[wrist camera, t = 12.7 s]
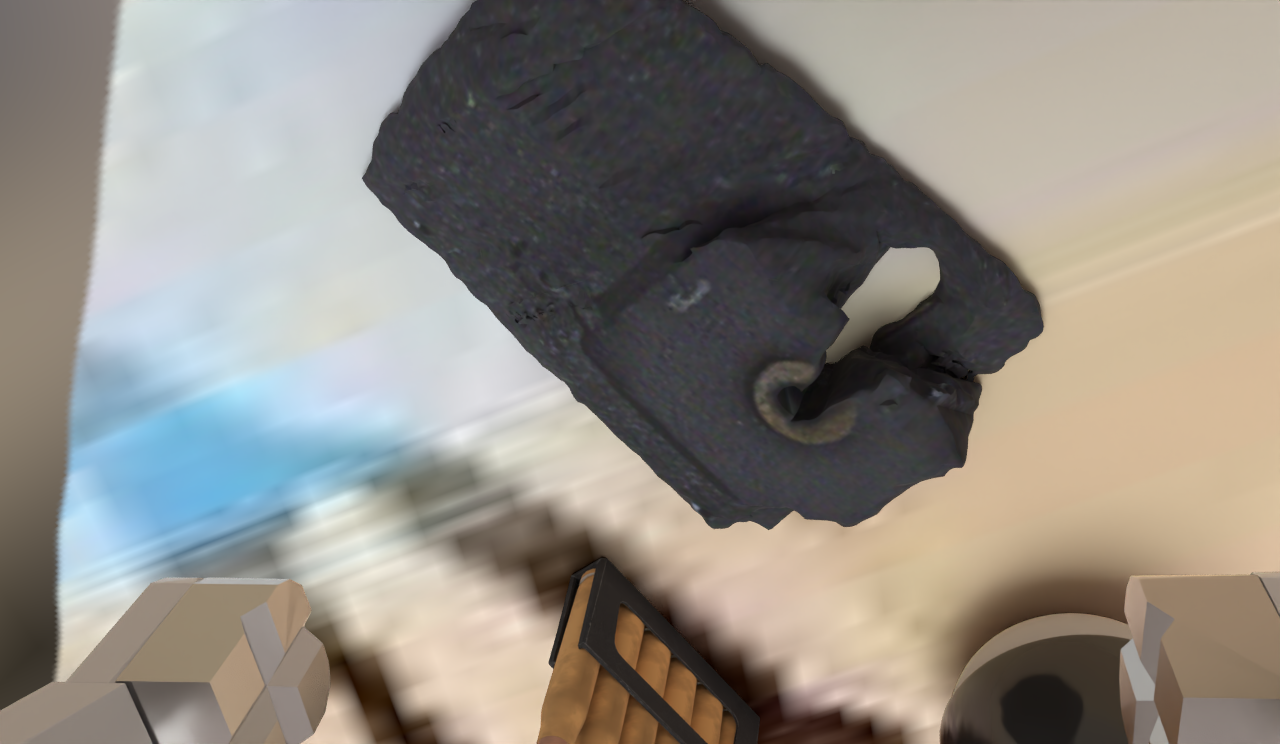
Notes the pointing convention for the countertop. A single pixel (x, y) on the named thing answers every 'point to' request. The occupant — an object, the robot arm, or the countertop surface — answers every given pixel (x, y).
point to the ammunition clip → (632, 674)
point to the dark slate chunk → (695, 254)
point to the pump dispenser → (1042, 685)
